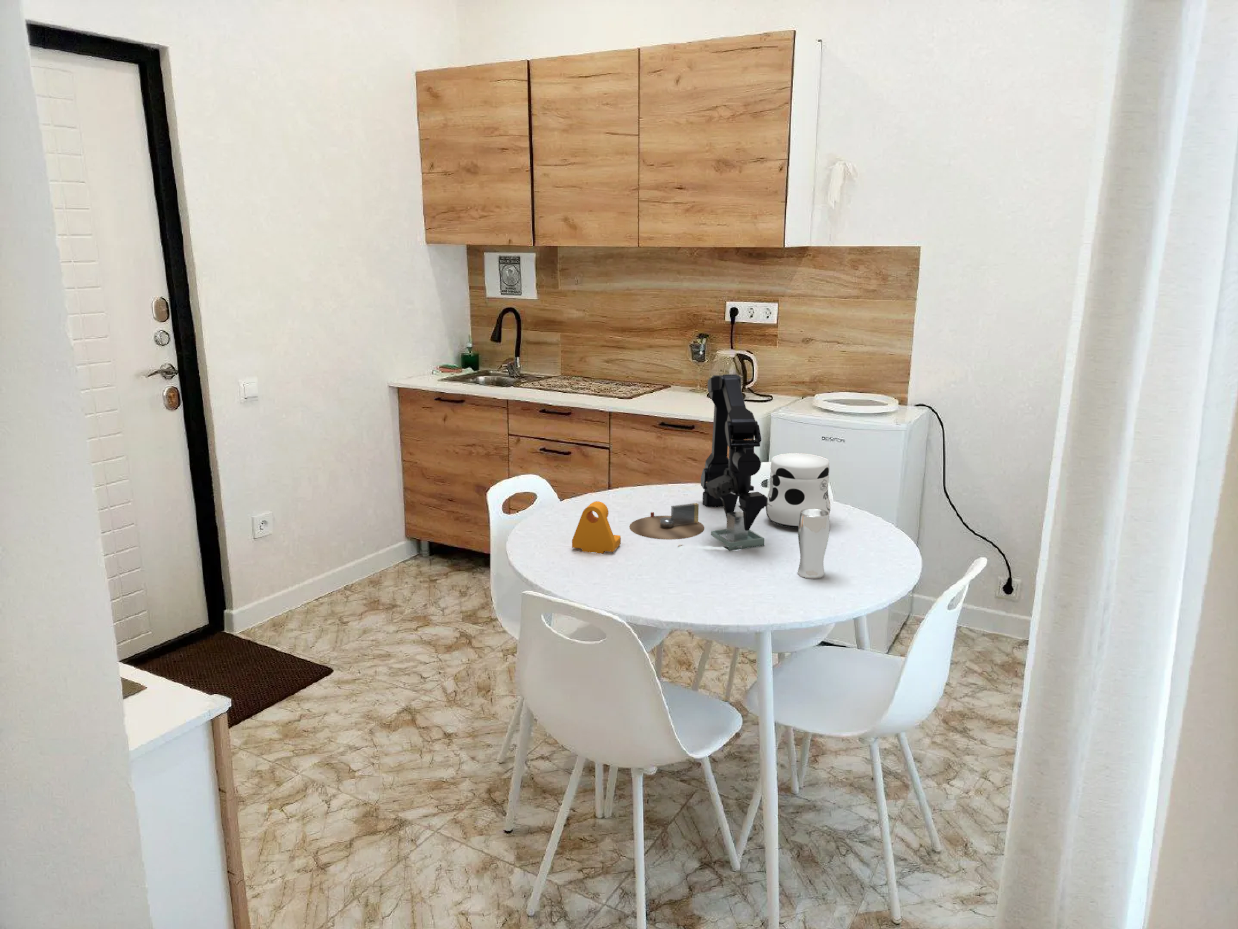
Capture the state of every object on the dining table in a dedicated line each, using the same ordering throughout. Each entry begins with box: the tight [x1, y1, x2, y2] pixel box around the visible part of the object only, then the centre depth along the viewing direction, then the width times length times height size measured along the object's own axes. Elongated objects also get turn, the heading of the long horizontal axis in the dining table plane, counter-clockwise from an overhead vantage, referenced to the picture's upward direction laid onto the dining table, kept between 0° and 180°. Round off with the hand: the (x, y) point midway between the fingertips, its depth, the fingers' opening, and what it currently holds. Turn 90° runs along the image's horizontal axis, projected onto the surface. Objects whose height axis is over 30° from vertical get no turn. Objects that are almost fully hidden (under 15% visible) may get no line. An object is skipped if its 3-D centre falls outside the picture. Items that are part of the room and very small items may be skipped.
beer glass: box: [797, 508, 830, 580], centre depth 200 cm, size 7×7×15 cm
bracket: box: [571, 500, 622, 554], centre depth 217 cm, size 11×7×12 cm, turn 73°
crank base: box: [629, 511, 705, 541], centre depth 232 cm, size 20×20×2 cm
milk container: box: [765, 452, 831, 529], centre depth 236 cm, size 17×17×18 cm
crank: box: [660, 502, 700, 527], centre depth 232 cm, size 11×4×5 cm, turn 111°
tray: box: [710, 528, 766, 552], centre depth 223 cm, size 10×10×2 cm
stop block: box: [725, 510, 748, 542], centre depth 222 cm, size 4×4×7 cm
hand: (737, 525), depth 222 cm, fingers open, 9 cm apart
